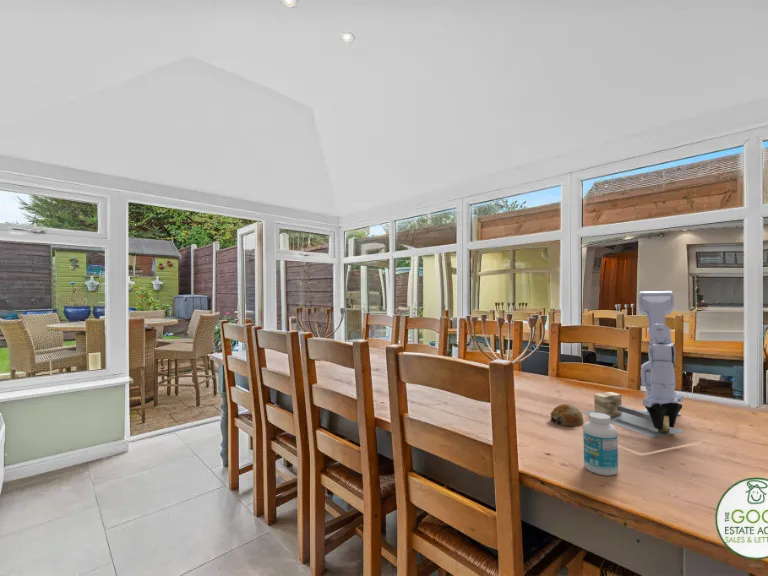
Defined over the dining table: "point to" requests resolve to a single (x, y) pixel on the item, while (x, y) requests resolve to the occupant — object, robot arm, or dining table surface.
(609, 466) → the pill bottle
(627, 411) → the hook rod
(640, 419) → the base board
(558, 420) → the bread roll
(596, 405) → the eye block
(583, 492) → the dining table surface
